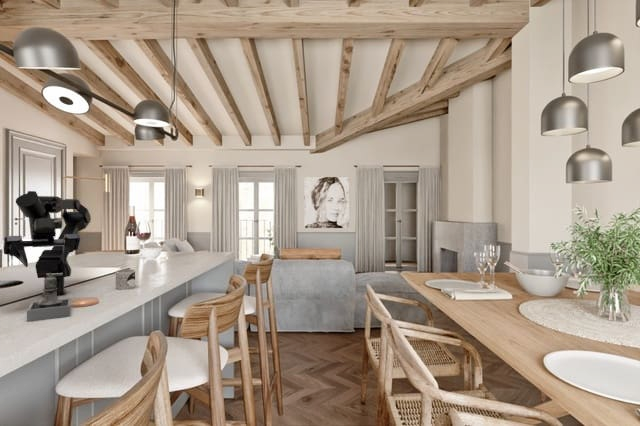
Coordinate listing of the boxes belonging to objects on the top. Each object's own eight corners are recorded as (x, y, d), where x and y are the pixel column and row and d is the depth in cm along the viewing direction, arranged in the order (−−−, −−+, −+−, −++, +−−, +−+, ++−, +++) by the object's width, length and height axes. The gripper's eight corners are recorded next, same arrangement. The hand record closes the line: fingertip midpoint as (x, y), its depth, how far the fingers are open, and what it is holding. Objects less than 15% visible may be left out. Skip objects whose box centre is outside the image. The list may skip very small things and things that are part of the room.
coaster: (67, 302, 117) (67, 299, 117) (98, 299, 121) (98, 296, 121) (66, 308, 110) (66, 305, 110) (99, 304, 114) (99, 301, 114)
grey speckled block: (130, 289, 136) (130, 272, 136) (112, 290, 135) (112, 272, 135) (141, 284, 146) (141, 268, 146) (124, 284, 145) (124, 268, 145)
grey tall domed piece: (49, 318, 100) (49, 275, 100) (31, 316, 101) (32, 274, 101) (67, 312, 106) (68, 271, 106) (51, 311, 107) (51, 270, 107)
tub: (30, 312, 105) (31, 302, 105) (70, 308, 110) (70, 298, 110) (26, 321, 97) (26, 310, 97) (70, 316, 102) (70, 305, 102)
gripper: (4, 208, 106) (7, 249, 98) (79, 209, 119) (86, 245, 111) (2, 234, 112) (4, 274, 104) (73, 231, 125) (80, 267, 117)
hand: (46, 264), depth 109 cm, fingers open, 9 cm apart
